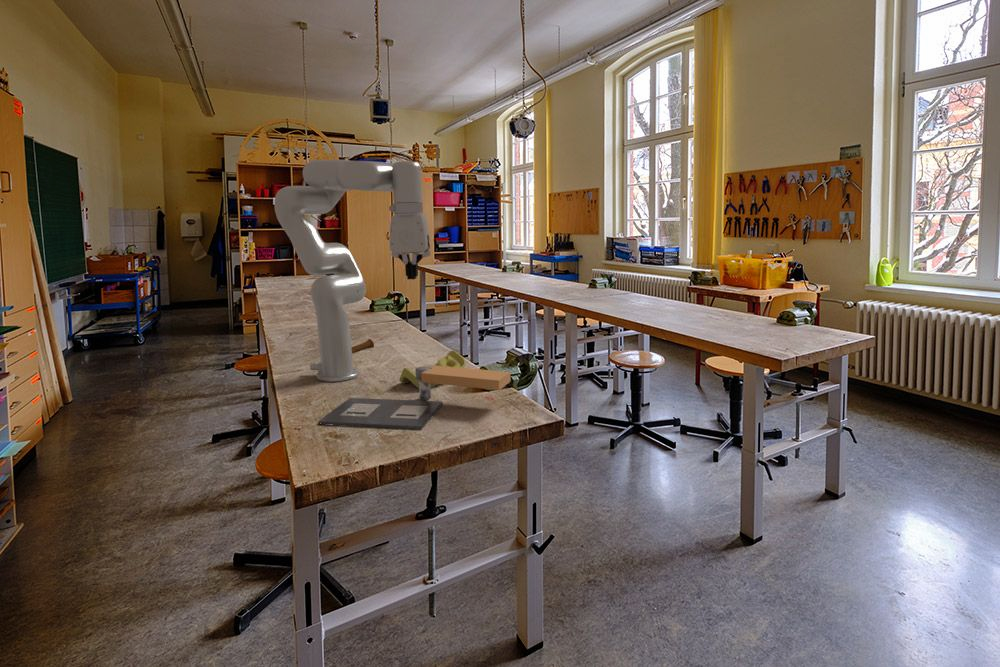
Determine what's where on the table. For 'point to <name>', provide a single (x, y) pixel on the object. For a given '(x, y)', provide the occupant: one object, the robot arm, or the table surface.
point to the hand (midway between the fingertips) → (412, 278)
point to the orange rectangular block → (463, 377)
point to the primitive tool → (363, 346)
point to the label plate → (385, 412)
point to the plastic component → (450, 360)
